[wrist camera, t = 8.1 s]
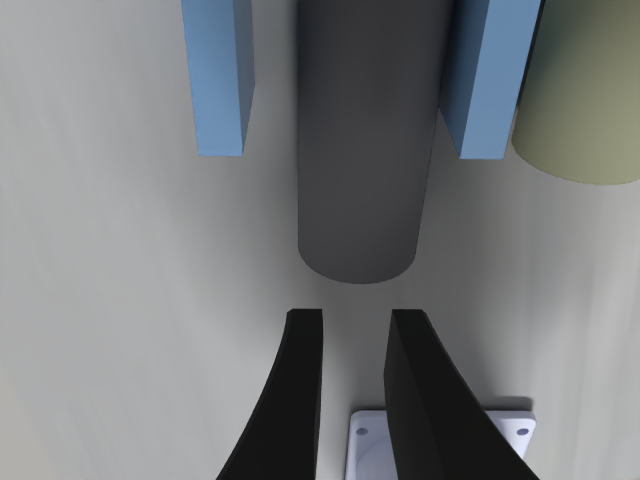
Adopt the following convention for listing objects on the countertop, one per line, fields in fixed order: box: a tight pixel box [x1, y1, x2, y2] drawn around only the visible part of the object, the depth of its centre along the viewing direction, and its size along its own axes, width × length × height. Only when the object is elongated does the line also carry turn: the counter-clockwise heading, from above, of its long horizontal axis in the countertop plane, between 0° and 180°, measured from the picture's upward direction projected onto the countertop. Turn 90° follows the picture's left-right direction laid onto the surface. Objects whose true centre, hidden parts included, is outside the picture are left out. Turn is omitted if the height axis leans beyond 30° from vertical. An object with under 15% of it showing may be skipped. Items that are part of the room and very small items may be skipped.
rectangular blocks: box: [181, 0, 541, 159], centre depth 14 cm, size 4×19×4 cm, turn 89°
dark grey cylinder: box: [298, 0, 455, 284], centre depth 15 cm, size 10×4×4 cm, turn 179°
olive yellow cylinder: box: [512, 0, 640, 185], centre depth 15 cm, size 6×4×4 cm, turn 179°
